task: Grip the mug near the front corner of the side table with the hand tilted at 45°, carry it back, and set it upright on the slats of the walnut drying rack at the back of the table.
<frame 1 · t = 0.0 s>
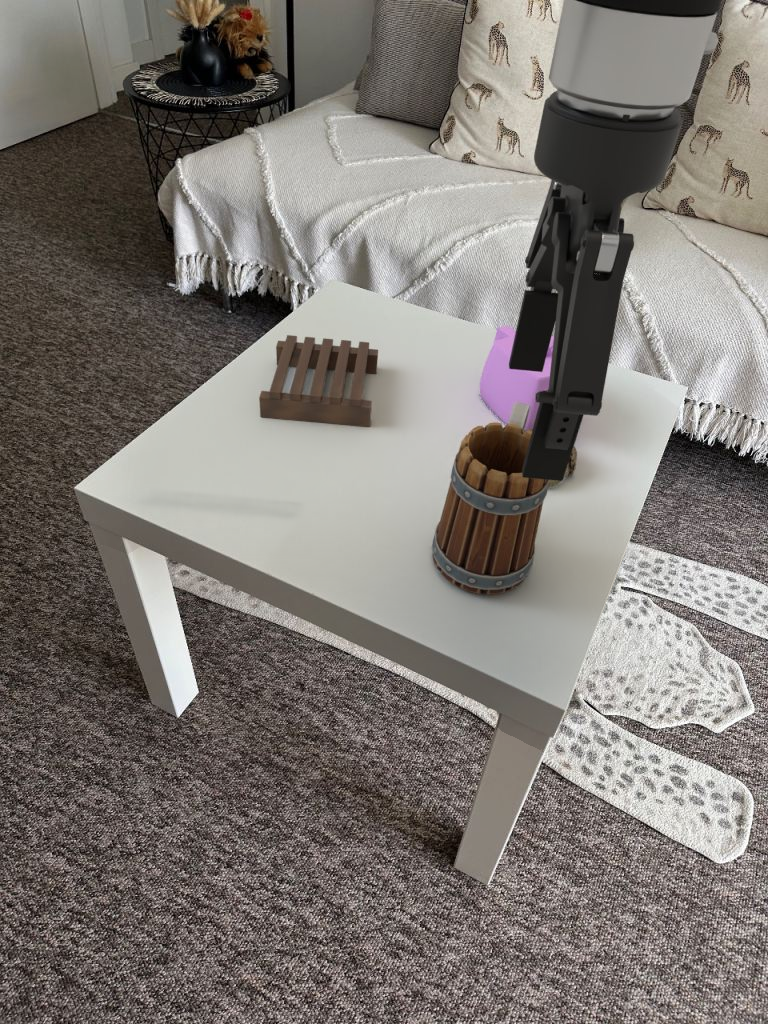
hand: (532, 417, 53), 24 cm above the table, tool pointing down, fingers open, 13 cm apart
teapot: (528, 411, 95), on the table
bracelet: (537, 468, 87), on the table
drying rack: (321, 391, 95), on the table
mug: (485, 545, 77), on the table
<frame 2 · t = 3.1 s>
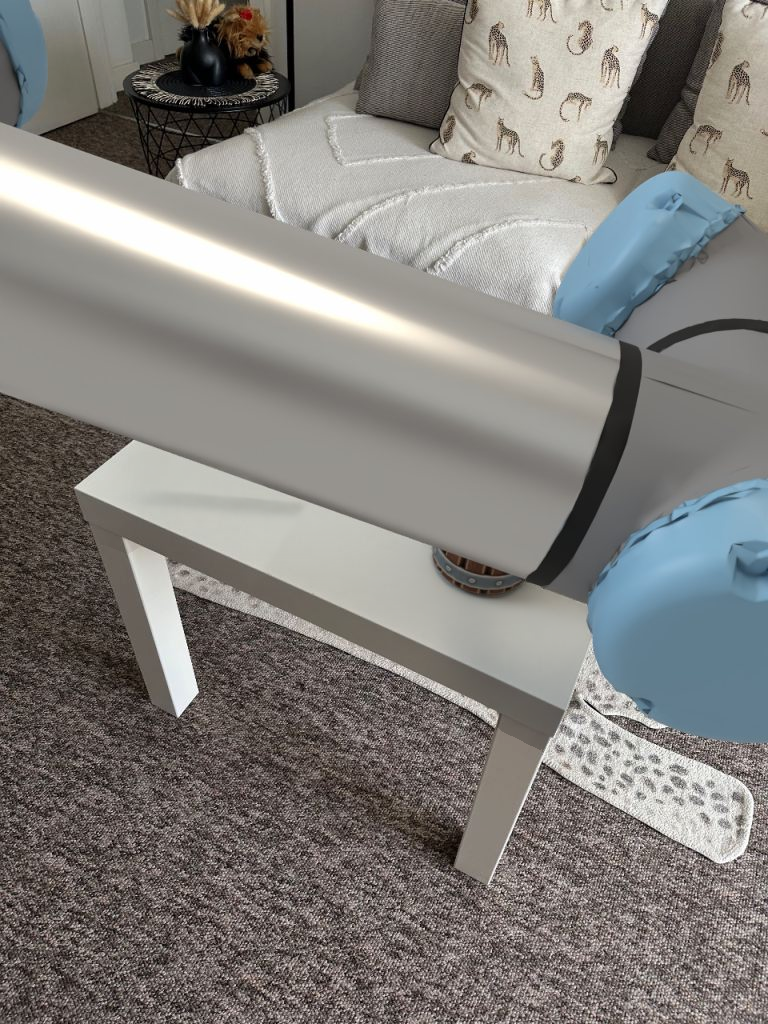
hand: (546, 493, 62), 14 cm above the table, tool tilted 45°, fingers open, 13 cm apart
nothing on the table moved.
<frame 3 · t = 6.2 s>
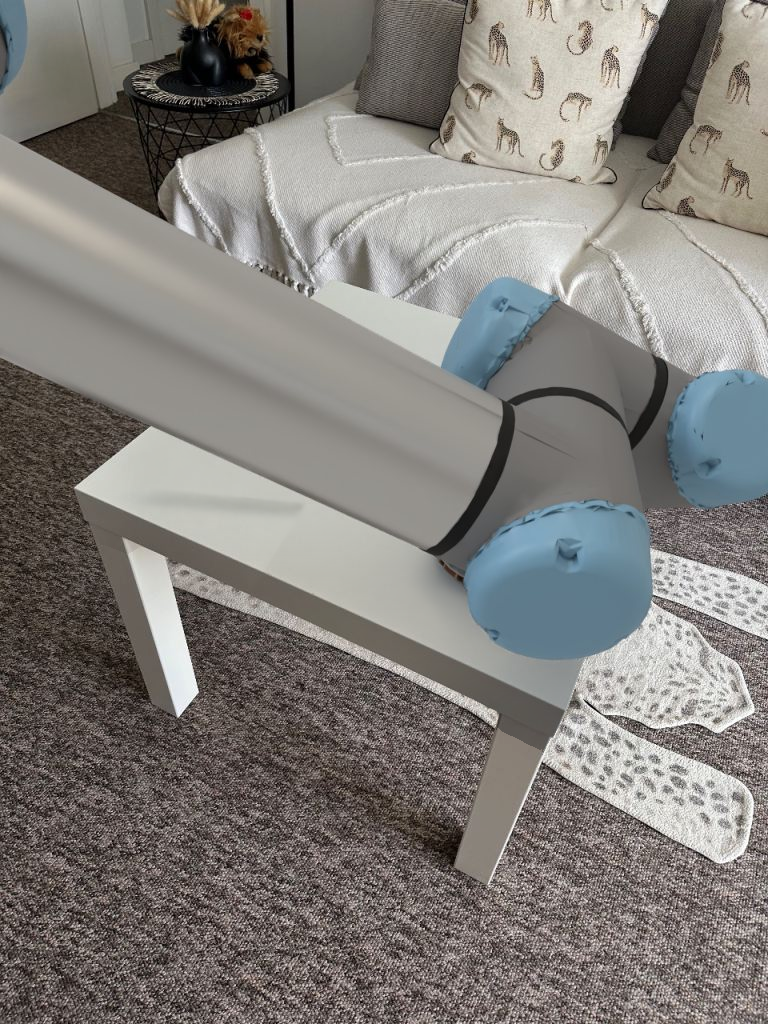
hand: (483, 484, 74), 6 cm above the table, tool tilted 45°, fingers closed on mug, 10 cm apart
mug: (485, 543, 76), on the table, touching gripper
everything else where it was.
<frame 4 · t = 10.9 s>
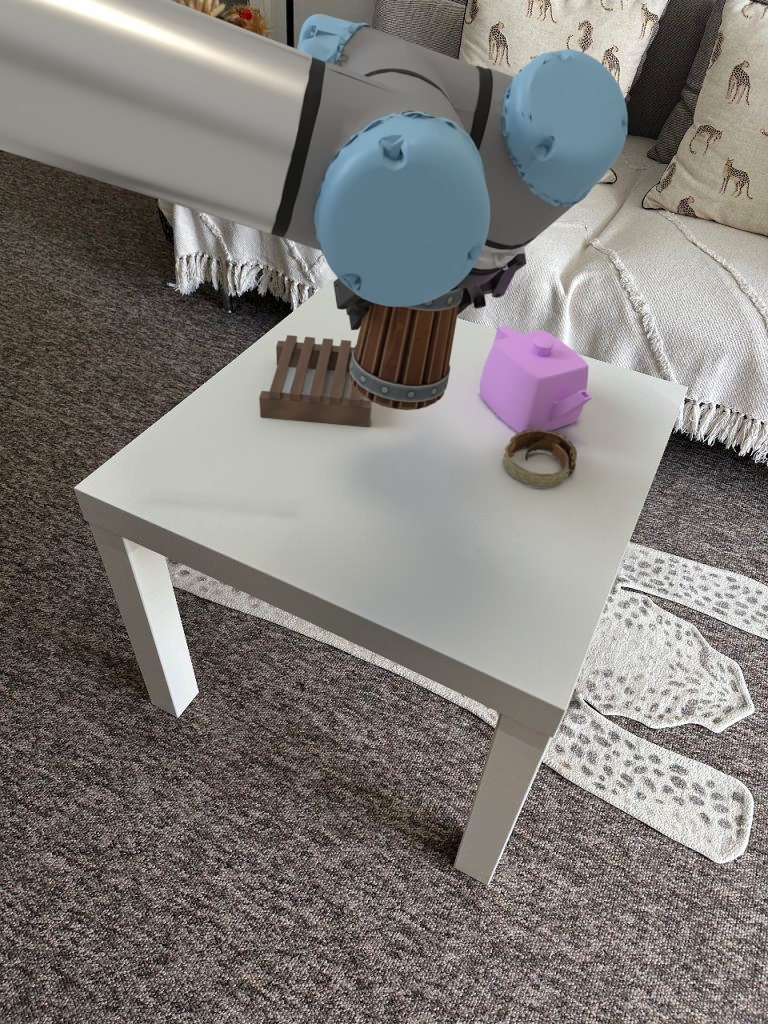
hand: (399, 313, 76), 18 cm above the table, tool tilted 45°, fingers closed on mug, 10 cm apart
mug: (403, 375, 78), point 12 cm above the table, touching gripper
everything else where it was.
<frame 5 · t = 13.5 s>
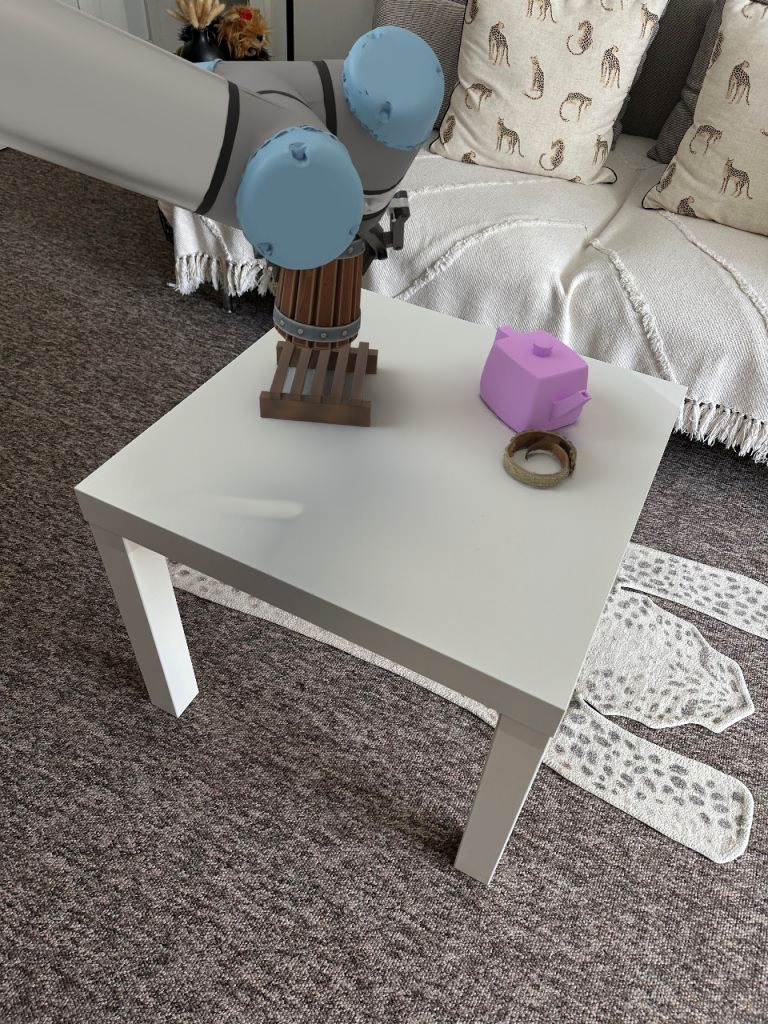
hand: (318, 268, 86), 16 cm above the table, tool tilted 45°, fingers closed on mug, 10 cm apart
mug: (323, 323, 88), point 10 cm above the table, touching gripper
everything else where it was.
when the fingers open (10 cm above the table, at t = 15.8 s): mug stays where it is, resting on drying rack.
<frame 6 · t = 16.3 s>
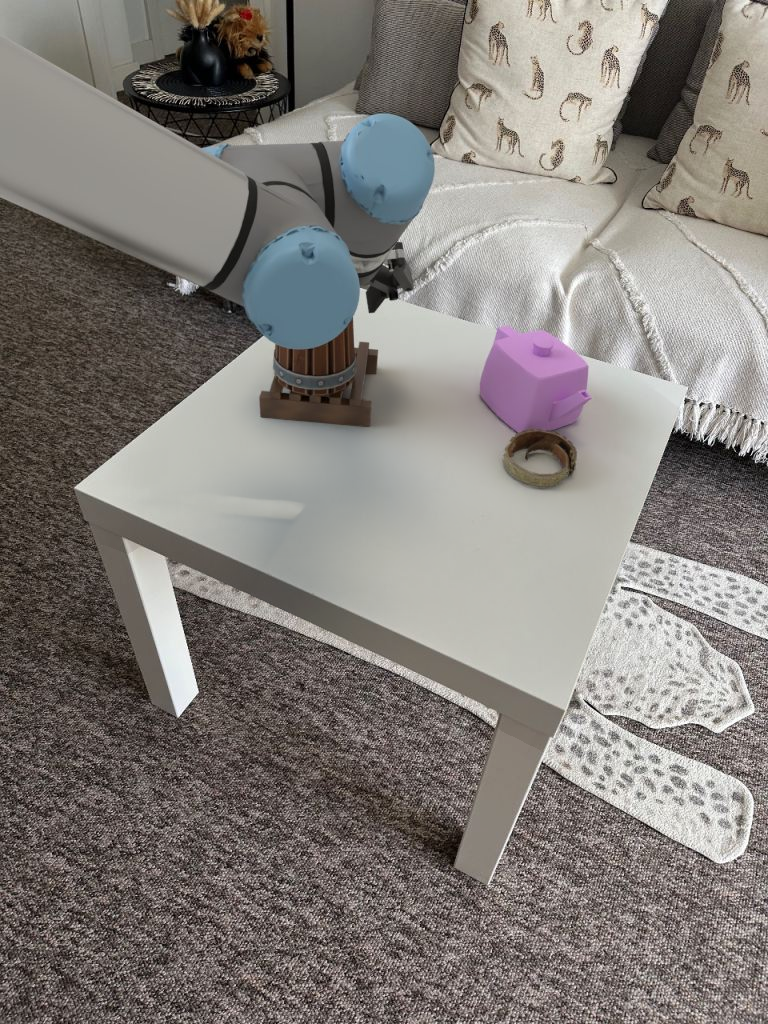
hand: (318, 306, 89), 11 cm above the table, tool tilted 45°, fingers open, 13 cm apart
mug: (322, 367, 93), point 4 cm above the table, touching drying rack
everything else where it was.
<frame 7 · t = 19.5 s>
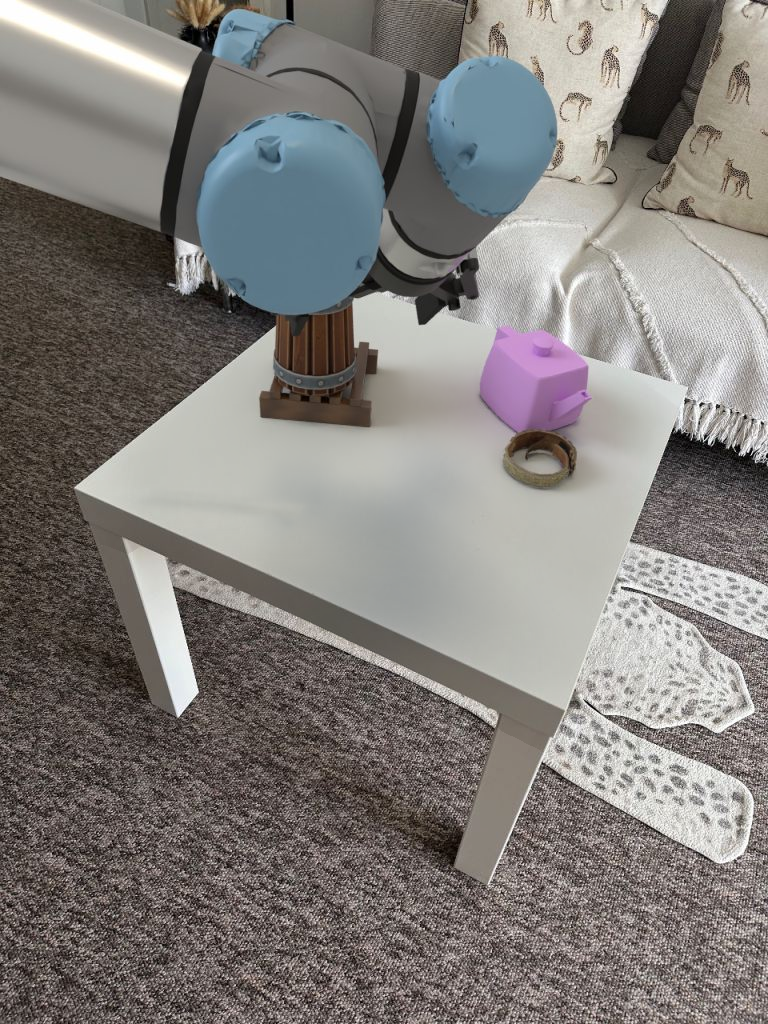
hand: (358, 317, 74), 18 cm above the table, tool tilted 45°, fingers open, 13 cm apart
nothing on the table moved.
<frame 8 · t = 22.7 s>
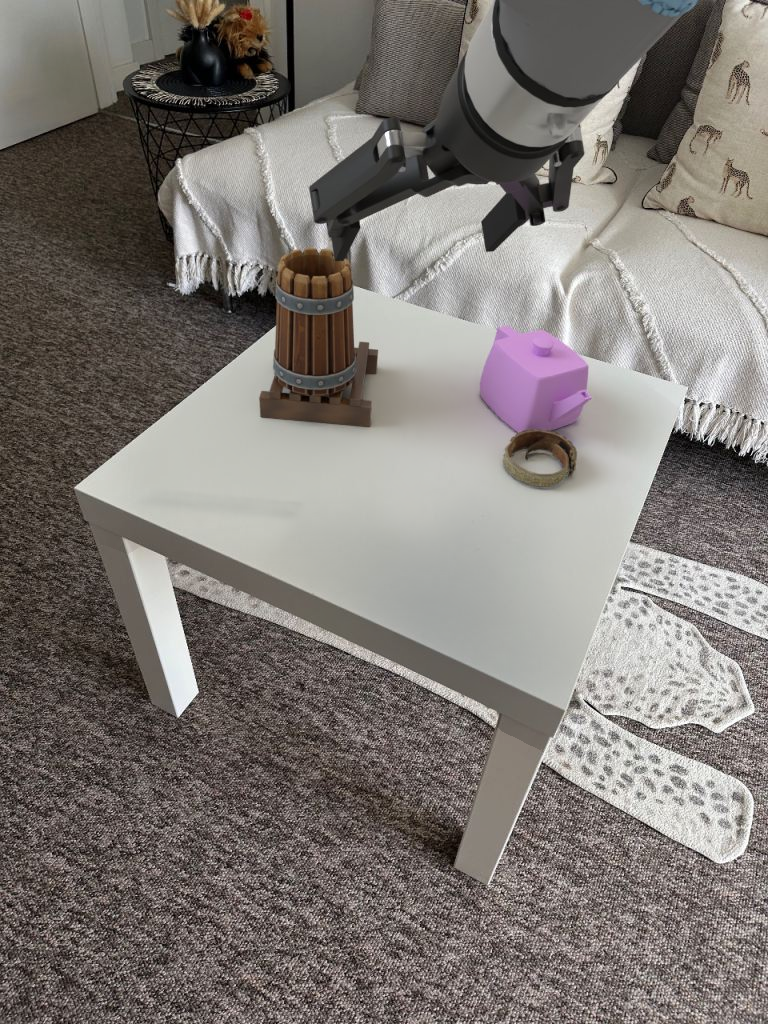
hand: (414, 240, 61), 30 cm above the table, tool tilted 45°, fingers open, 13 cm apart
nothing on the table moved.
at the end: mug inside the target area on the drying rack (0.0 cm from its centre), point 3.8 cm above the drying rack's base; mug tilted 0°; the gripper is holding nothing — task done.
